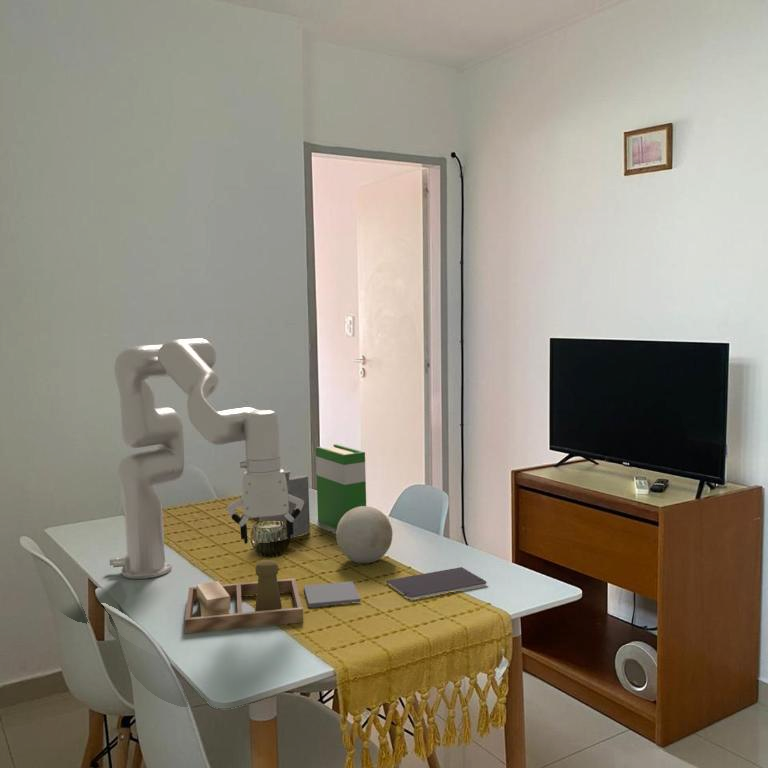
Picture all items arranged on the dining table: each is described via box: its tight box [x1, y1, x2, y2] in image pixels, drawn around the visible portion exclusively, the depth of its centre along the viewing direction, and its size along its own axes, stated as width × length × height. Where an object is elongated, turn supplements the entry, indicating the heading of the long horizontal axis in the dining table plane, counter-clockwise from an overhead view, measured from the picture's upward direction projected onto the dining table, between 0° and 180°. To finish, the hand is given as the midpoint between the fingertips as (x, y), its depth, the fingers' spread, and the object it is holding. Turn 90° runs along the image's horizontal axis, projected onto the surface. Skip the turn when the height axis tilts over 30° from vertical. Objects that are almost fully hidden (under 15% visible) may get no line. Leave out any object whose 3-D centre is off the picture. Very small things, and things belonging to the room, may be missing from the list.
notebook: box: [386, 566, 488, 599], centre depth 197 cm, size 13×2×21 cm
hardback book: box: [315, 444, 367, 531], centre depth 251 cm, size 18×7×24 cm, turn 33°
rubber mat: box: [303, 581, 362, 608], centre depth 192 cm, size 12×12×1 cm
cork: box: [254, 559, 283, 612], centre depth 184 cm, size 6×6×11 cm
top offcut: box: [196, 580, 231, 613], centre depth 182 cm, size 5×11×3 cm, turn 25°
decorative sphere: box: [335, 505, 394, 564], centre depth 216 cm, size 15×15×15 cm
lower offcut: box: [199, 601, 231, 617], centre depth 183 cm, size 6×14×3 cm, turn 15°
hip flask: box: [258, 469, 311, 538], centre depth 240 cm, size 16×4×20 cm, turn 121°
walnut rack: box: [184, 578, 304, 634], centre depth 184 cm, size 25×20×3 cm
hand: (267, 540), depth 183 cm, fingers open, 9 cm apart
